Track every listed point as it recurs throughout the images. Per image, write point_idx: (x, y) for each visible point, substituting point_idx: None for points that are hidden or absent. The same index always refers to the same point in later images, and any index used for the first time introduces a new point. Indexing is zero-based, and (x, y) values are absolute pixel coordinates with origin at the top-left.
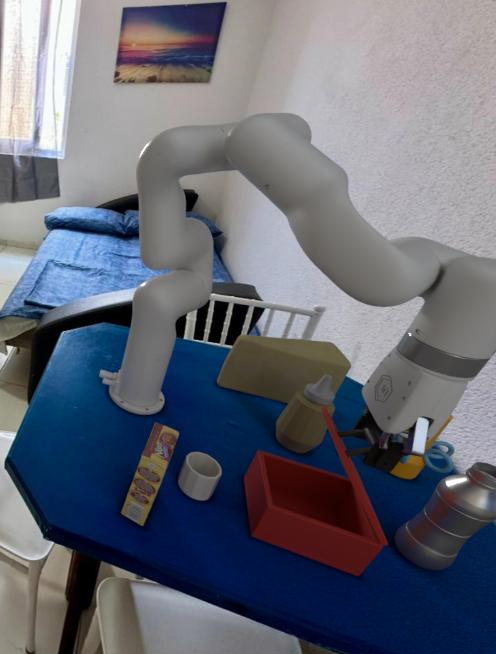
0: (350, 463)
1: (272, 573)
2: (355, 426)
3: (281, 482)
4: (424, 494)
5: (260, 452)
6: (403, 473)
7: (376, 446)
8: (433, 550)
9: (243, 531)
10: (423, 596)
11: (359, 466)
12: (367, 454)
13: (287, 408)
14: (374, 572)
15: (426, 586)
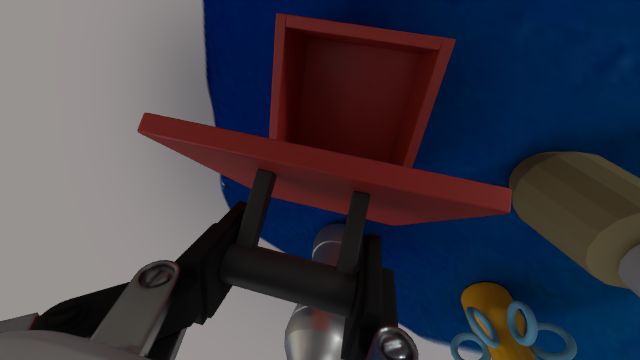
0: (252, 172)
1: (253, 46)
2: (372, 261)
3: (409, 105)
4: (436, 299)
5: (445, 43)
6: (465, 298)
7: (186, 256)
8: (314, 251)
9: (309, 15)
10: (290, 215)
11: (482, 255)
12: (229, 221)
13: (637, 180)
14: None
15: (303, 225)
